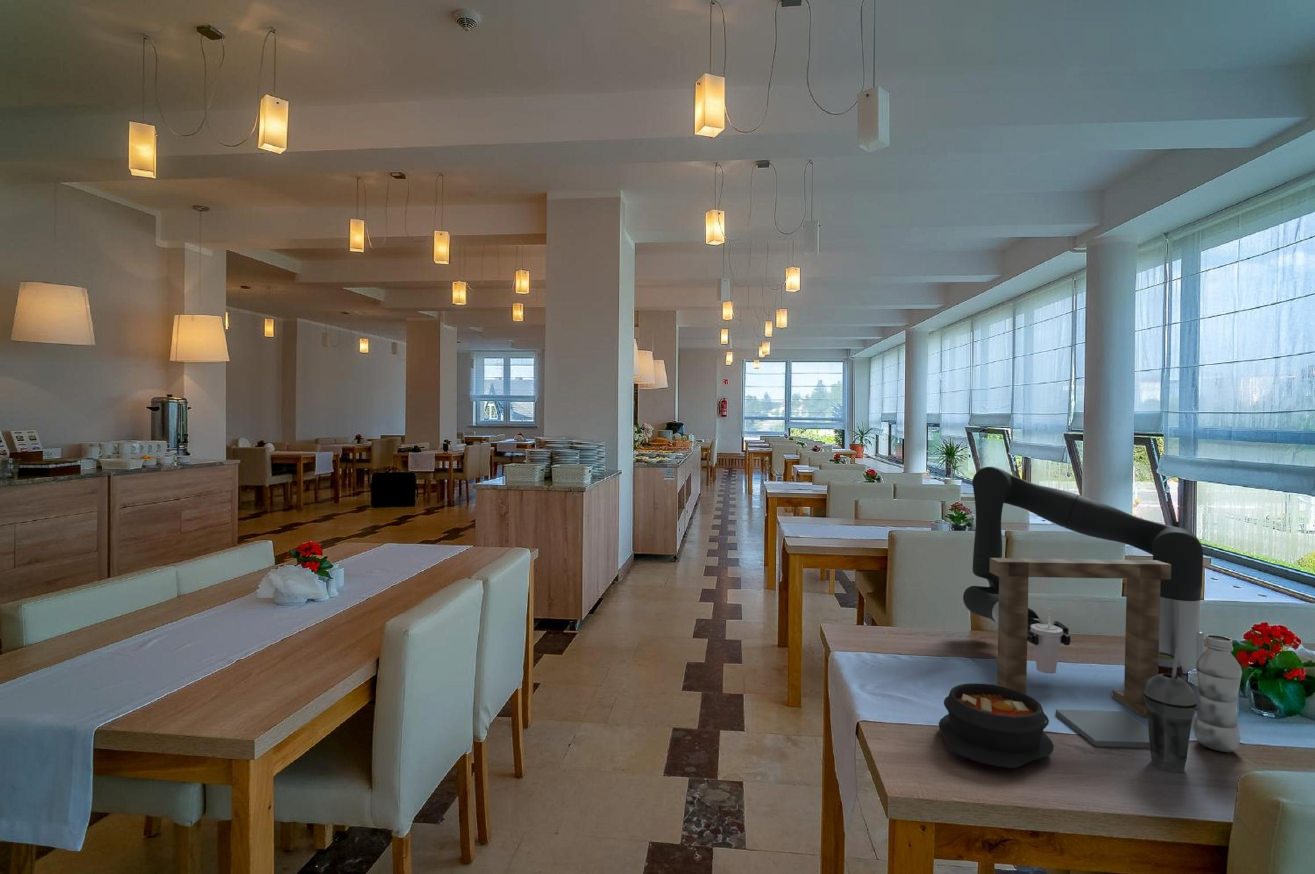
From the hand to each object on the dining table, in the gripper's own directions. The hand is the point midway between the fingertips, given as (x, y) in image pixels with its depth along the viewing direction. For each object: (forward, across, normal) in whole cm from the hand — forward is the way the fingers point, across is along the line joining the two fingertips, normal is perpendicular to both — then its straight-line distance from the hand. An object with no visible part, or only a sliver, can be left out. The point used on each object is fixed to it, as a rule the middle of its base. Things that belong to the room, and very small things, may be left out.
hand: (1052, 640), depth 146 cm
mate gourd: (+2, +22, +11) cm, 25 cm away
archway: (+10, 0, +10) cm, 14 cm away
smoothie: (-2, 0, +8) cm, 8 cm away
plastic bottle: (+26, +15, +11) cm, 32 cm away
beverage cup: (+33, +1, +10) cm, 35 cm away
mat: (+21, 0, +10) cm, 23 cm away
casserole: (+27, -25, +10) cm, 38 cm away
